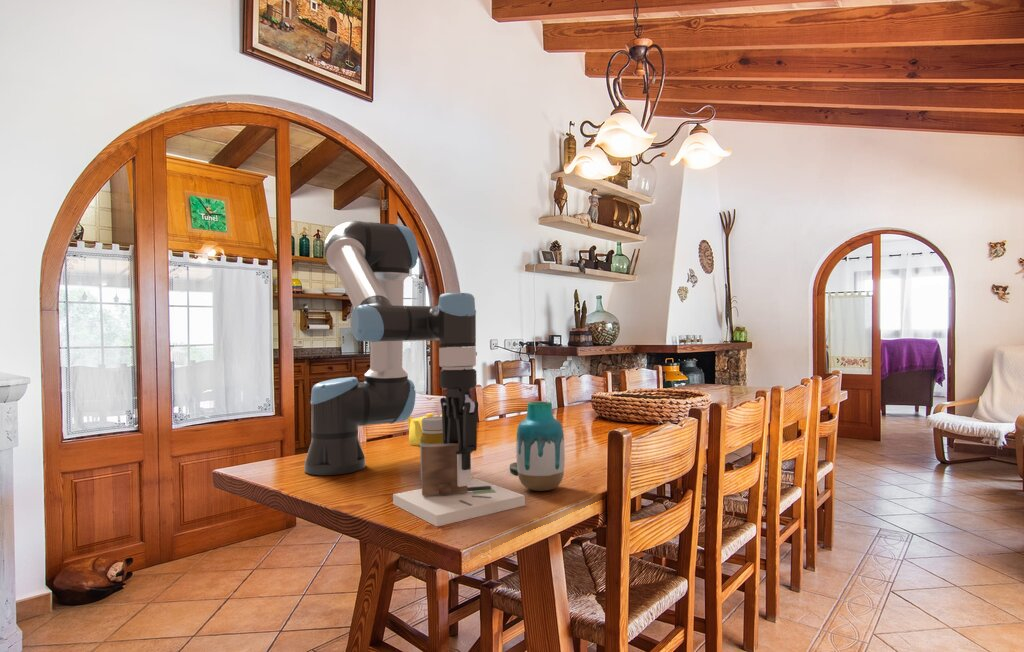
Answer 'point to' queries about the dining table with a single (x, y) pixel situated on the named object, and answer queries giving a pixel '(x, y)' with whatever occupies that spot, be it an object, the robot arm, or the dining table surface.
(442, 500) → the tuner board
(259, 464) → the dining table surface
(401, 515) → the dining table surface
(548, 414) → the vase
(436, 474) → the brown wooden block
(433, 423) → the bottle
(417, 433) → the teapot
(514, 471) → the log
